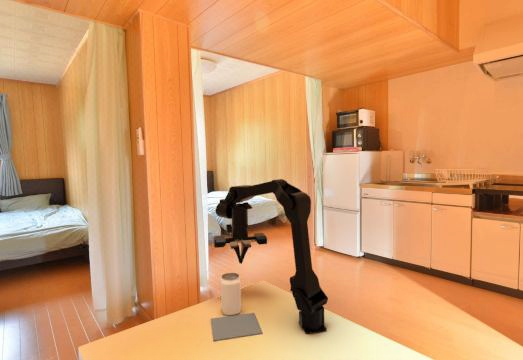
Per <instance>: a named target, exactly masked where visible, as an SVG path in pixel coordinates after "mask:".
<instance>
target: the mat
mask: <svg viewBox="0 0 523 360" xmlns="http://www.w3.org/2000/svg"><path fill="white" fill-rule="evenodd" d="M210 322H211V324H210V326H211V332H212V340H213V342H217V341H224V340H225V341H226V340H231V339H238V338H239V339H240V338H244V337H251V336H257V335H263V334H264V333H263V331H262V328H261V325H260V322H259V320H258V318H257V315H256V313H255V312H250V313H241V314H240V313H239V314H237V315H233V316H228V315H225V316H219V317H213V318H212V317H211V318H210Z"/></svg>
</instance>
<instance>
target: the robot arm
mask: <svg viewBox="0 0 523 360" xmlns="http://www.w3.org/2000/svg"><path fill="white" fill-rule="evenodd" d="M268 194H273V195H274V196H275V198H276V201H277V202H278V203H279V204H280V206H282V207H283V212H284V215H285V217H286V218H287V221H288V222H289V224H290V227H291V228H290V229H291V238H292V247H293V256H294V257H293V258H294V266H295V272H294V275H292V276H290V277H289V284H290V291H289V292H291V293H292V297H293V300H294V302H295V305H296V306H295V307H296V309H297V310H298V325H299V326H300V328H301V329H302V330H303V332H304V333H305V334H306V335H311V334H316V333H321V332H327V330H328V329H327V327H326V326H325V307H324V306H325V305H327V303H328V301H329V298H328V296H327V294H326V293H325V291H323V289H322V287H321V285H320V281H319V277H318V275H317V274H316V273H315V271H314V270H313V263H312V255H311V244H310V236H309V234H310V233H309V226H308V220H309V218H310V215H311V211H312V210H311V209H312V208H311V207H312V200H311V197H310V195H309V194H307V193H306V192H304V191H302V190H301V189H300V188H298V187H296V186H294V185H292V184H290V183H289V181H287V180H285V179H283V178H278V179H272V180H271V181H265V182H263V183H258V184H252V185H251V184H244V185H243V184H241V185H235V186H233V185H232V186H230V187H229V190H228V192H227V193H226V196H225V198H220V199H219V202H218V203H217V205H216V207H215V214H216V216H217V217H219V218H222V219H223V218H224V219H229V220H231V223H230V224H228V223H227V224H226V225H225V229H226V230H225V231H226V234H230V237H226V236H225V235H215V236H214V237H213V247H214V248H219V249H220V248H224V247H225V246H226V245H227V244H229V247H230V250H234V252H235V254H236V257H237V260H238V263H239V264H243V262H244V259H245V257H246V254H247V252H248V250H249V248H250V249H251V248H252V243H253V242H256V244H258V245H267V244H268V237H267V236H266V234H264V232H256V233H255V232H254V233H253V235H251V236H249V216H248V215H249V214H248V212H249V210H251V209H253V207H252V205H251V204H250V203H249V202H248V201H250V200H252V199H254V197H256V196H257V197H258V196H262V195H268ZM239 243H240V245H239Z"/></svg>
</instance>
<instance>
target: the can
mask: <svg viewBox="0 0 523 360" xmlns="http://www.w3.org/2000/svg"><path fill="white" fill-rule="evenodd" d="M241 286H242V285H241V278H240V274H239V273H236V272H226V273H224V274H222V275H221V279H220V297H221V298H220V299H221V301H220V302H221V313H222V314H223V315H225V316H233V315H239V314H240V313H241V311H242V290H241V289H242V287H241Z"/></svg>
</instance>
